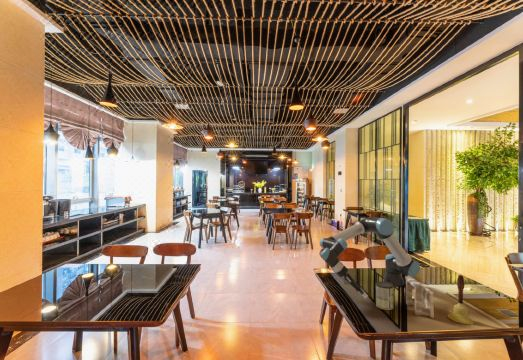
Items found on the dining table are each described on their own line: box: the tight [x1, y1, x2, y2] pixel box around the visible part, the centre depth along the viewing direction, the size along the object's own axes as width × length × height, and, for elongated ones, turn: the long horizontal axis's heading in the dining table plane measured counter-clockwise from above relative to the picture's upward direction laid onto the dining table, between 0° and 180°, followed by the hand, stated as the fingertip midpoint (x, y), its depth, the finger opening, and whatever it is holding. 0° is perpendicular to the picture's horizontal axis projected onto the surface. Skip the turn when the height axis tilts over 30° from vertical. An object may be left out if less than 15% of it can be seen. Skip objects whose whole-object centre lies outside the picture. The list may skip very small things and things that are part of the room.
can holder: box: [404, 275, 435, 319], centre depth 169 cm, size 20×9×18 cm, turn 169°
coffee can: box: [375, 281, 394, 311], centre depth 173 cm, size 10×10×14 cm
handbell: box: [447, 274, 474, 325], centre depth 157 cm, size 12×12×25 cm
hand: (366, 297), depth 175 cm, fingers closed
